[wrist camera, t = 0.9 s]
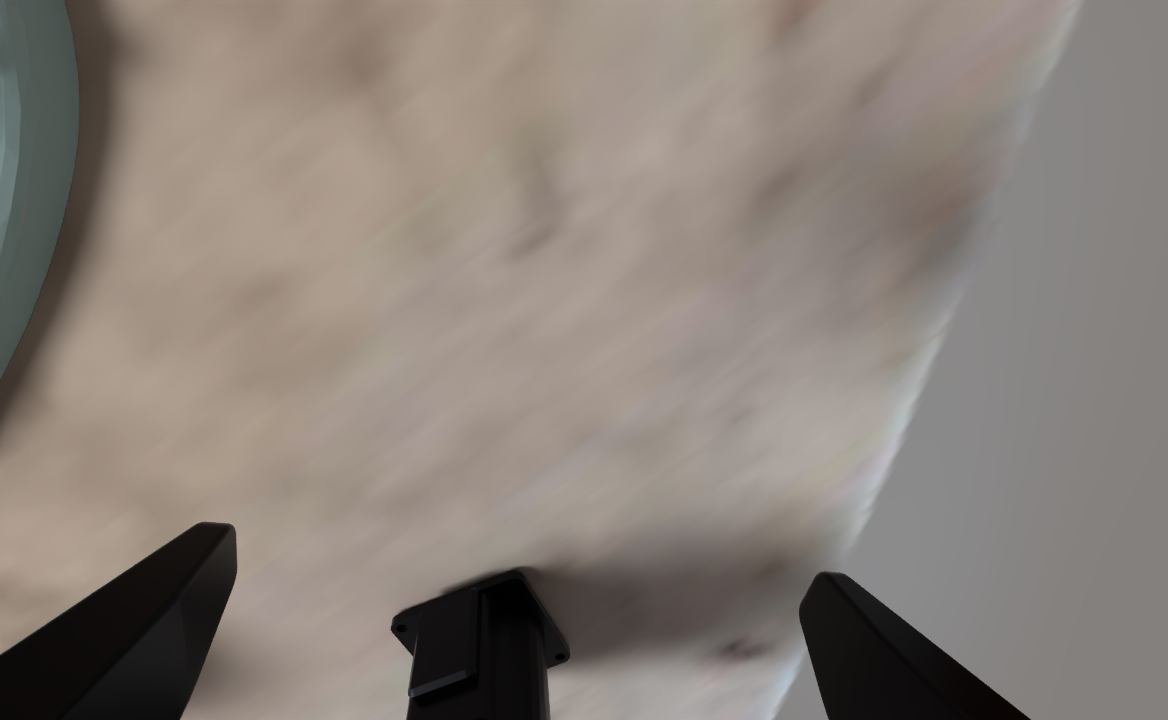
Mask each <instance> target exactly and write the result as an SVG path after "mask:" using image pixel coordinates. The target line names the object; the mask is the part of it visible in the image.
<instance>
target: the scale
mask: <svg viewBox="0 0 1168 720" xmlns="http://www.w3.org/2000/svg"><path fill="white" fill-rule="evenodd" d="M79 112H80V99H79V78H78V68H77V61H76V54H75V47H74V40H73V34H72V29H71V25H70V21H69V17H68V13H67V9H66V5H65V1H64V0H0V380H1V378H2V376H3V374H4V372H5V370H6V368H7V366H8V364H9V362H10V360H11V358H12V356H13V354H14V352H15V350H16V348H17V346H18V343H19V341H20V339H21V337H22V335H23V333H24V331H25V328H26V326H27V324H28V322H29V320H30V317H31V315H32V312H33V310H34V307H35V304H36V302H37V299H38V296H39V294H40V291H41V288H42V286H43V283H44V280H45V278H46V275H47V272H48V269H49V266H50V263H51V260H52V256H53V253H54V250H55V246H56V243H57V240H58V236H59V233H60V229H61V226H62V222H63V218H64V214H65V210H66V206H67V201H68V197H69V193H70V189H71V184H72V180H73V173H74V167H75V160H76V153H77V145H78V134H79Z"/></svg>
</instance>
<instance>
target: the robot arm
mask: <svg viewBox="0 0 1168 720" xmlns="http://www.w3.org/2000/svg"><path fill="white" fill-rule="evenodd" d="M236 574H237V547H236V531H235V528H234V526H233V525H231V524H228V523H215V522H201V523H198V524H196V525H194V526H193V527H191V528H190V529H188V530H187V531H185V532H184V533H182V534H181V535H179V536H178V537H176V538H175V539H173V540H172V541H170V542H169V543H167V544H166V545H164V546H163V547H161V548H160V549H158V550H157V551H155V552H154V553H152V554H151V555H149V556H148V557H146V558H145V559H143V560H142V561H140V562H139V563H137V564H136V565H134V566H133V567H131V568H130V569H128V570H127V571H125V572H124V573H122V574H121V575H119V576H118V577H116V578H115V579H113V580H112V581H110V582H109V583H107V584H106V585H104V586H103V587H101V588H100V589H98V590H97V591H95V592H94V593H92V594H91V595H89V596H88V597H86V598H85V599H83V600H82V601H80V602H79V603H77V604H76V605H74V606H73V607H71V608H70V609H68V610H67V611H65V612H64V613H62V614H61V615H59V616H58V617H56V618H55V619H53V620H52V621H50V622H49V623H47V624H46V625H44V626H43V627H41V628H40V629H38V630H37V631H35V632H34V633H32V634H31V635H29V636H28V637H26V638H25V639H23V640H22V641H20V642H19V643H17V644H16V645H14V646H13V647H11V648H10V649H8V650H7V651H5V652H4V653H2V654H1V655H0V720H180V718H181V716H182V714H183V712H184V710H185V708H186V706H187V704H188V702H189V700H190V697H191V695H192V692H193V690H194V687H195V685H196V682H197V680H198V677H199V675H200V672H201V670H202V667H203V664H204V662H205V659H206V656H207V654H208V651H209V649H210V646H211V643H212V641H213V638H214V636H215V633H216V630H217V628H218V625H219V622H220V620H221V617H222V615H223V612H224V609H225V607H226V604H227V602H228V599H229V596H230V594H231V591H232V588H233V586H234V583H235V579H236ZM512 582H516V583H512ZM799 618H800V623H801V626H802V630H803V633H804V637H805V640H806V644H807V647H808V651H809V654H810V658H811V661H812V665H813V669H814V672H815V676H816V679H817V683H818V686H819V690H820V693H821V697H822V700H823V703H824V707H825V709H826V713H827V716H828V719H829V720H1031V719H1030V718H1028V717H1027V716H1026V715H1024V714H1023V713H1022V712H1020V711H1019V710H1018V709H1017V708H1015V707H1014V706H1013V705H1012V704H1010V703H1009V702H1008V701H1006V700H1005V699H1004V698H1003V697H1001V696H1000V695H999V694H997V693H996V692H995V691H994V690H992V689H991V688H990V687H989V686H987V685H986V684H985V683H984V682H982V681H981V680H979V678H977V677H976V676H975V675H973V674H972V673H971V672H970V671H968V670H967V669H966V668H964V667H963V666H962V665H961V664H959V663H958V662H957V661H956V660H954V659H953V658H952V657H950V656H949V655H948V654H947V653H945V652H944V651H943V650H942V649H940V648H939V647H938V646H936V645H935V644H934V643H932V642H931V641H930V640H929V639H927V638H926V637H925V636H924V635H922V634H921V633H920V632H918V631H917V630H916V629H915V628H913V627H912V626H911V625H909V624H908V623H907V622H906V621H905V620H903V619H902V618H901V617H899V616H898V615H897V614H896V613H894V612H893V611H892V610H890V609H889V608H888V607H887V606H885V605H884V604H883V603H882V602H880V601H879V600H878V599H876V598H875V597H874V596H873V595H871V594H870V593H869V592H868V591H866V590H865V589H864V588H862V587H861V586H860V585H859V584H857V583H856V582H855V581H854V580H852V579H851V578H850V577H848V576H847V575H845V574H843V573H837V572H820V573H819V574H817V575H816V577H815V578H814V580H813V582H812V584H811V585H810V587H809V589H808V591H807V593H806V595H805V596H804V598H803V600H802V602H801V604H800V608H799ZM391 631H392V633H393V634H394V635H395V636H396V637H397V638H398V640H399V641H400V642H401V643H402V644H403V645H404V646H405V648H406V649H407V650H408V651H409V652H410V653H411V655H412V656H413V663H412V669H411V676H410V682H409V689H408V696H409V697H410V698H409V705H408V712H407V718H406V720H551V719H550V705H549V690H548V676H547V669H548V668H550V667H553V666H556V665H559V664H561V663H564V662H566V661H567V660H568V659H569V658H570V649H569V646H568V644H567V643H566V641H565V639H564V638H563V636H562V635H561V633H560V632H559V630H558V628H557V627H556V625H555V624H554V622H553V621H552V619H551V617H550V616H549V614H548V613H547V611H546V610H545V608H544V606H543V605H542V603H541V602H540V600H539V598H538V597H537V595H536V594H535V592H534V591H533V589H532V587H531V586H530V584H529V583H528V581H527V580H526V578H525V576H524V575H523V574H522V573H520V572H518V571H512V572H508V573H505V574H503V575H500V576H498V577H495V578H492V579H490V580H487V581H484V582H482V583H479V584H477V585H474V586H471V587H469V588H466V589H463V590H461V591H458V592H455V593H453V594H450V595H448V596H445V597H442V598H440V599H437V600H434V601H432V602H429V603H427V604H424V605H421V606H419V607H416V608H413V609H411V610H408V611H405V612H403V613H400V614H398V615H396V616H395V617H394V618H393V620H392V625H391Z"/></svg>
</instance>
